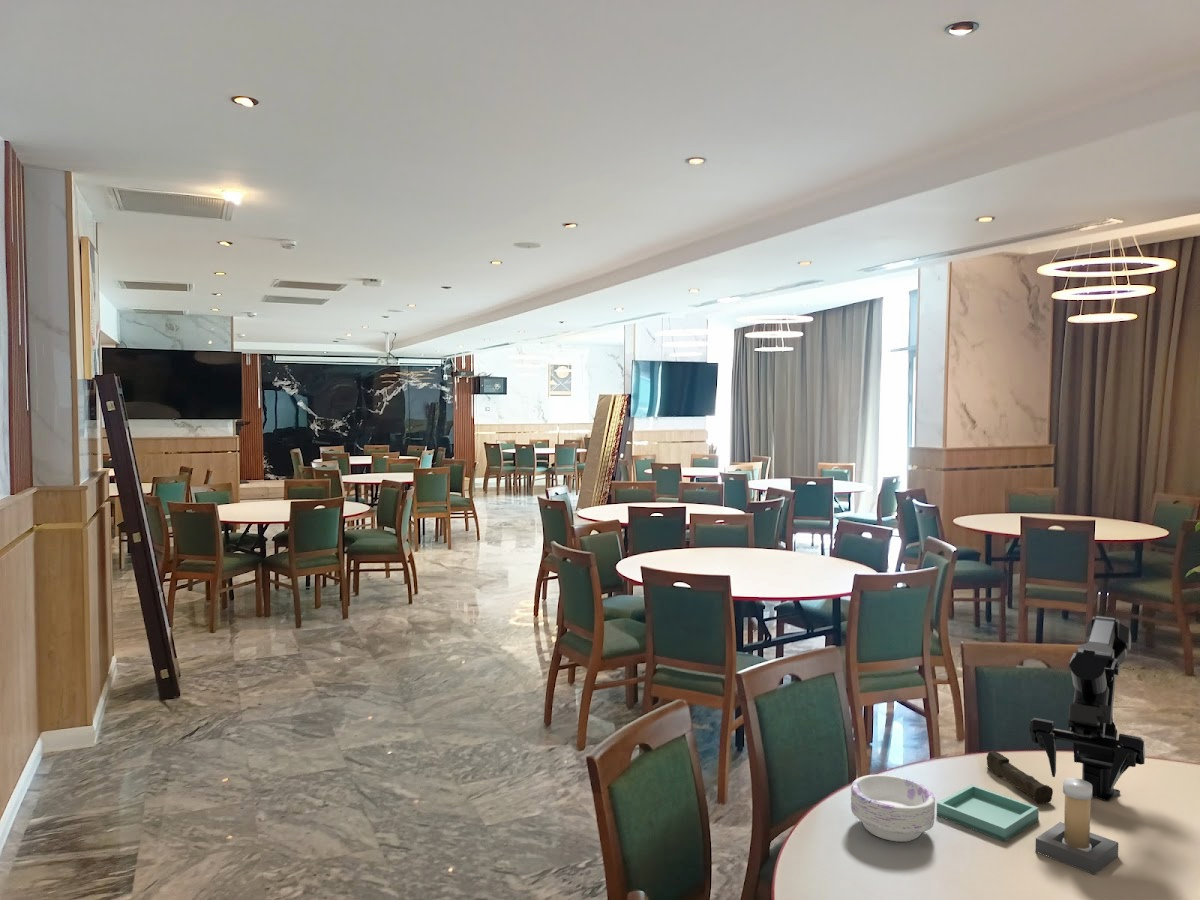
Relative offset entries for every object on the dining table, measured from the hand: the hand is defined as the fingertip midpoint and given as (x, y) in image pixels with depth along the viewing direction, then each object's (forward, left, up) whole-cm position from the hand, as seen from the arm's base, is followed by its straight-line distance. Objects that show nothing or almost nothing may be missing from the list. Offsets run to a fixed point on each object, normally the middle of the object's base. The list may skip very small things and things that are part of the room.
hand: (1081, 782), depth 155 cm
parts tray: (+4, -16, -11) cm, 20 cm away
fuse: (+5, +1, -11) cm, 12 cm away
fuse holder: (+5, +1, -11) cm, 12 cm away
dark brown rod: (-15, -20, -12) cm, 28 cm away
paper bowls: (+23, -25, -12) cm, 36 cm away
